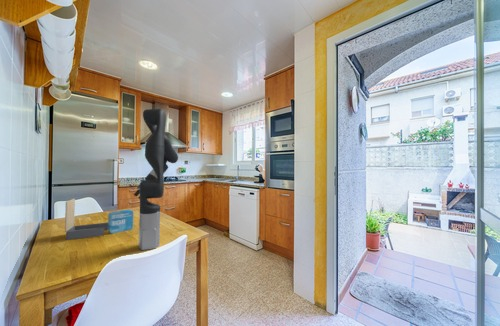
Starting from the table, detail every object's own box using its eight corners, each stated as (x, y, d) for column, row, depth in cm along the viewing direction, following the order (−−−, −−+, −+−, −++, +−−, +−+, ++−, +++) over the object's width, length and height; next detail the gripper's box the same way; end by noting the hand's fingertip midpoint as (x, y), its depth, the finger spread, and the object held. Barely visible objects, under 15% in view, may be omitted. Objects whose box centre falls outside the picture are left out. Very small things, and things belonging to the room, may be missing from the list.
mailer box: (103, 235, 106) (104, 199, 107) (64, 240, 99) (65, 201, 99) (108, 229, 115) (108, 196, 116) (72, 233, 108) (73, 198, 108)
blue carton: (109, 234, 108) (110, 213, 108) (107, 232, 111) (108, 212, 111) (133, 229, 117) (133, 210, 117) (130, 227, 120) (131, 209, 120)
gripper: (145, 171, 125) (128, 192, 118) (154, 174, 115) (136, 197, 109) (154, 177, 129) (138, 197, 123) (163, 181, 120) (146, 203, 114)
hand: (137, 197), depth 116 cm, fingers open, 8 cm apart
